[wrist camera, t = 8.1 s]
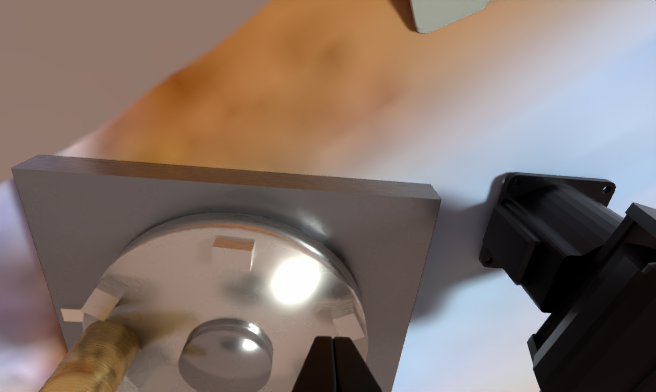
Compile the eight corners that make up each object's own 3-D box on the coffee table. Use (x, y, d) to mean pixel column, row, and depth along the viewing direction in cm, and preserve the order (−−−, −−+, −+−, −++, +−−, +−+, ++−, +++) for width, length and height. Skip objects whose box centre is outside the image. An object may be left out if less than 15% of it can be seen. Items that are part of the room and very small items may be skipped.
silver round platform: (390, 231, 20) (425, 329, 14) (340, 413, 27) (347, 534, 20) (85, 194, 18) (-36, 284, 12) (115, 397, 25) (48, 523, 19)
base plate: (430, 184, 21) (442, 201, 19) (379, 395, 29) (384, 422, 27) (38, 154, 20) (8, 169, 18) (101, 385, 28) (84, 413, 26)
